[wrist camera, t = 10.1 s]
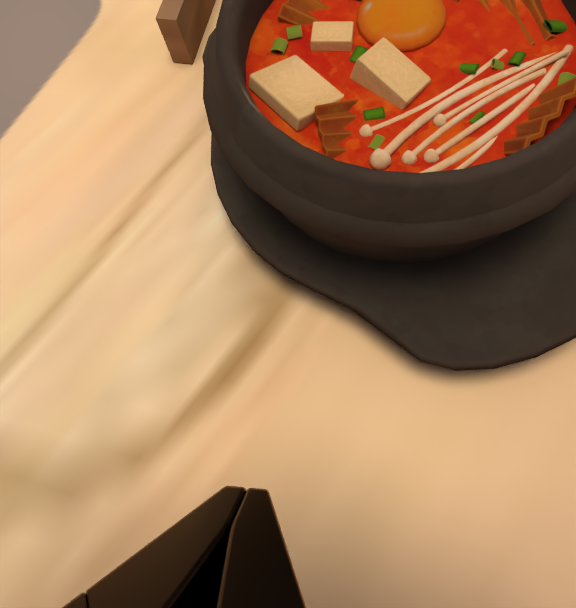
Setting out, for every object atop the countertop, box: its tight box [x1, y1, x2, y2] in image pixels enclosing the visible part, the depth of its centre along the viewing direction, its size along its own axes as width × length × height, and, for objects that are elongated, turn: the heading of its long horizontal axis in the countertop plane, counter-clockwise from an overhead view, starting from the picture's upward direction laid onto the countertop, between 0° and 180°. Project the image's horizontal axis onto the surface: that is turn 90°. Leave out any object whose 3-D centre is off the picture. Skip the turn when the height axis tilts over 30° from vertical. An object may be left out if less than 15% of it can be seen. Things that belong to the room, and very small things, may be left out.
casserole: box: [203, 0, 576, 371], centre depth 22 cm, size 25×19×8 cm
